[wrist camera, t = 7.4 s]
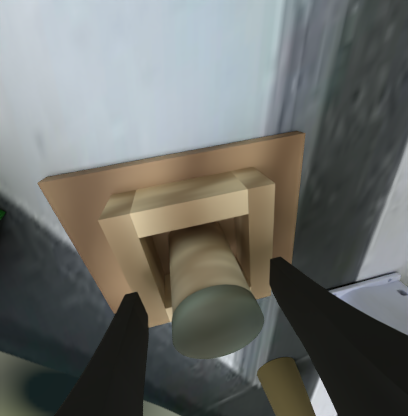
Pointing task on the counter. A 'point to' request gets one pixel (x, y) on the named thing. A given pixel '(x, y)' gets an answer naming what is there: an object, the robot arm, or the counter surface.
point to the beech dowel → (209, 295)
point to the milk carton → (2, 214)
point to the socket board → (181, 213)
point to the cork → (285, 388)
